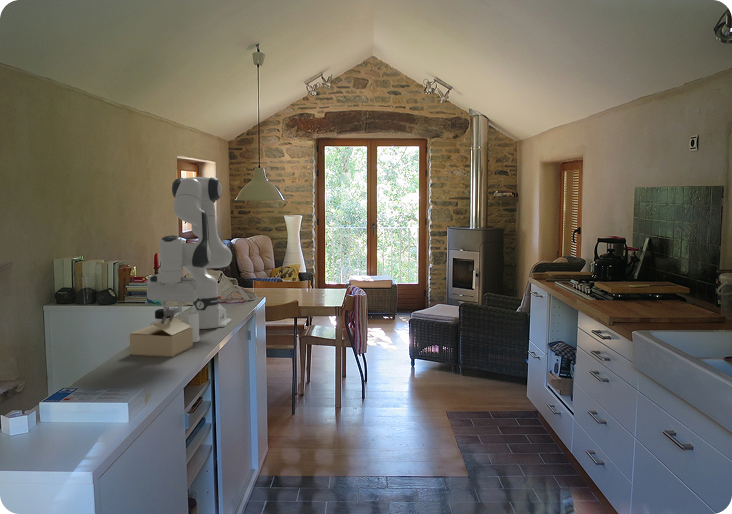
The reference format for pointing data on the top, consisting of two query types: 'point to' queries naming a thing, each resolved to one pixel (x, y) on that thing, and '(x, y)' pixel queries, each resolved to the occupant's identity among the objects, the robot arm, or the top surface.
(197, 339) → the mug
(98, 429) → the top surface
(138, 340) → the carton
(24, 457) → the top surface
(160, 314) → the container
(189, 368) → the top surface
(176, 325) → the near flap
